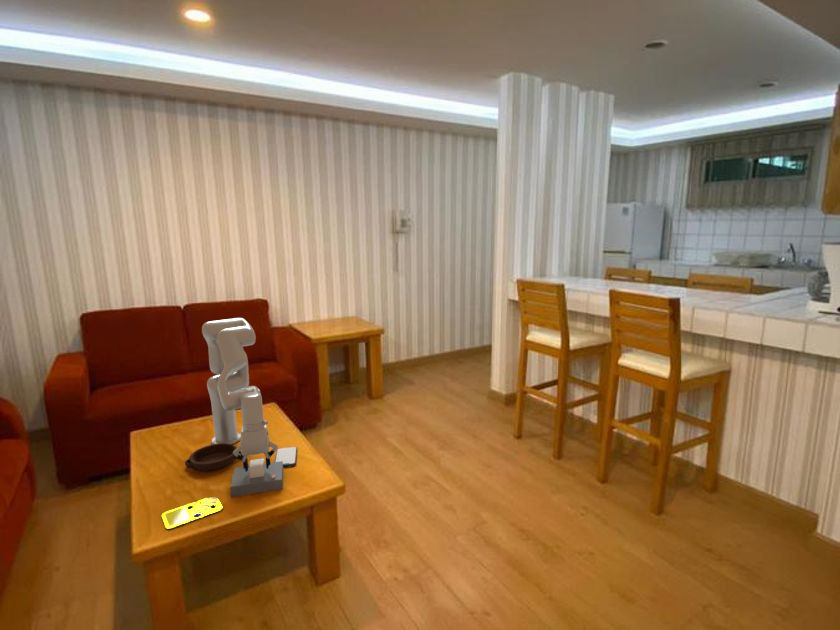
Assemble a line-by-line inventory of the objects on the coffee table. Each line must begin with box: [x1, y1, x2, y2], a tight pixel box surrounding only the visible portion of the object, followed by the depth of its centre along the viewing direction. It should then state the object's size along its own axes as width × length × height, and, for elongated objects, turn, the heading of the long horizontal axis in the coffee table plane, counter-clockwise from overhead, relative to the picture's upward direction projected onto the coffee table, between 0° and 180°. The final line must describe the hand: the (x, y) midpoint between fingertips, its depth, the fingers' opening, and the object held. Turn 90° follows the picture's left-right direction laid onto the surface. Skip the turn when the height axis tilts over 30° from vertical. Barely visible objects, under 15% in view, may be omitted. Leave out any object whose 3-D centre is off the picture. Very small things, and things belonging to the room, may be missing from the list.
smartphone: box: [274, 446, 298, 469], centre depth 196 cm, size 9×2×16 cm
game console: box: [161, 496, 224, 531], centre depth 159 cm, size 18×11×2 cm, turn 129°
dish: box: [184, 443, 241, 472], centre depth 192 cm, size 18×22×5 cm
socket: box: [230, 461, 284, 498], centre depth 177 cm, size 14×18×5 cm
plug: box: [248, 457, 266, 478], centre depth 176 cm, size 6×5×8 cm
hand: (257, 468), depth 176 cm, fingers open, 7 cm apart
